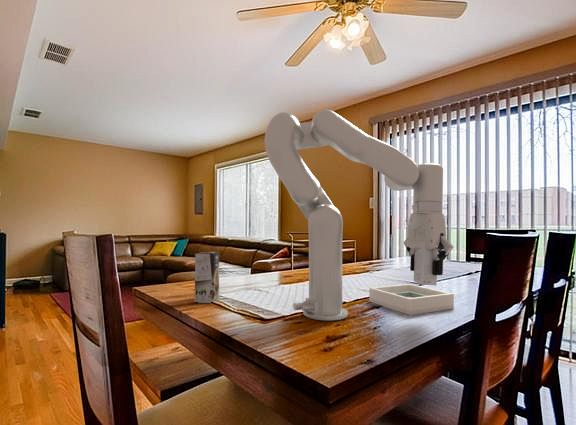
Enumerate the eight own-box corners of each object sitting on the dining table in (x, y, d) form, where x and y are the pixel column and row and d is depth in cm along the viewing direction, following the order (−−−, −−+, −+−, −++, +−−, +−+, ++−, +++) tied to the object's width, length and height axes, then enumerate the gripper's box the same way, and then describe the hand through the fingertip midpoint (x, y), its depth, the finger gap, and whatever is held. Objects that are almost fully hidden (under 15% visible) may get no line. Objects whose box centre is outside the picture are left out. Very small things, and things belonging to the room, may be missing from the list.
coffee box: (213, 303, 109) (214, 253, 110) (193, 303, 109) (194, 253, 110) (219, 297, 118) (220, 251, 119) (201, 297, 118) (201, 250, 119)
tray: (409, 315, 96) (409, 299, 96) (369, 301, 113) (369, 287, 113) (453, 308, 104) (453, 293, 104) (410, 296, 120) (409, 283, 120)
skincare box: (437, 286, 90) (438, 241, 90) (421, 285, 90) (422, 240, 90) (427, 281, 96) (429, 239, 96) (412, 281, 96) (414, 239, 96)
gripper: (394, 208, 100) (393, 268, 99) (444, 207, 84) (442, 278, 84) (413, 209, 103) (412, 268, 103) (464, 208, 87) (463, 277, 87)
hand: (425, 272), depth 93 cm, fingers closed on skincare box, 7 cm apart
